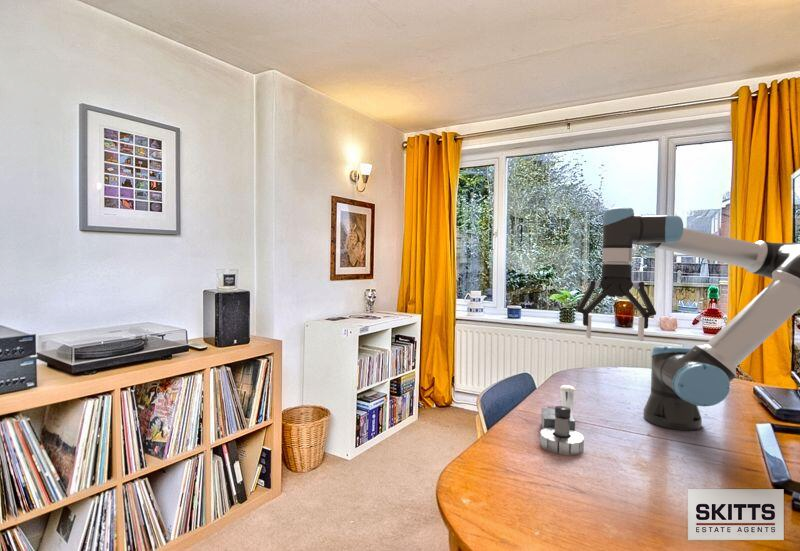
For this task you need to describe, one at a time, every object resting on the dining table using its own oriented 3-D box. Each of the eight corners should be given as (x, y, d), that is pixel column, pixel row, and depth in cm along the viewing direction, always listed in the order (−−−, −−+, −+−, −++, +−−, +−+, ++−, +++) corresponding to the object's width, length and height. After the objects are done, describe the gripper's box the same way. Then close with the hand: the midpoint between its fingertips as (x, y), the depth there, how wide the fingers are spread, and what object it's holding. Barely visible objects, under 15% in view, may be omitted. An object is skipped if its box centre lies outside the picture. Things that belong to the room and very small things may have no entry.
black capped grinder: (570, 449, 114) (571, 411, 113) (554, 448, 114) (555, 410, 114) (568, 443, 117) (569, 406, 117) (553, 442, 118) (554, 405, 118)
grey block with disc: (573, 424, 131) (573, 408, 131) (586, 457, 109) (586, 437, 109) (536, 421, 133) (536, 405, 133) (542, 452, 112) (542, 432, 112)
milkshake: (578, 417, 137) (579, 385, 137) (560, 415, 138) (561, 384, 138) (575, 412, 142) (576, 381, 141) (558, 411, 143) (559, 380, 142)
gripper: (661, 264, 125) (658, 338, 125) (567, 262, 130) (565, 334, 131) (671, 264, 117) (668, 343, 118) (571, 263, 123) (569, 338, 124)
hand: (614, 338), depth 125 cm, fingers open, 13 cm apart
